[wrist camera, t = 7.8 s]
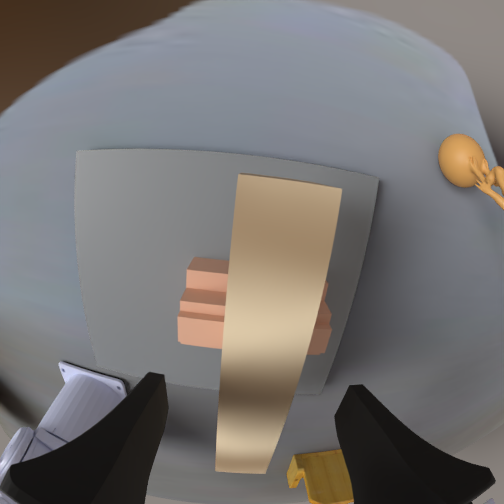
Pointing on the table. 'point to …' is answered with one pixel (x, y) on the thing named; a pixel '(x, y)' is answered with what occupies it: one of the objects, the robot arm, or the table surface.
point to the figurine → (469, 166)
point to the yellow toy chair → (322, 477)
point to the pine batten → (270, 310)
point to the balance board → (192, 258)
